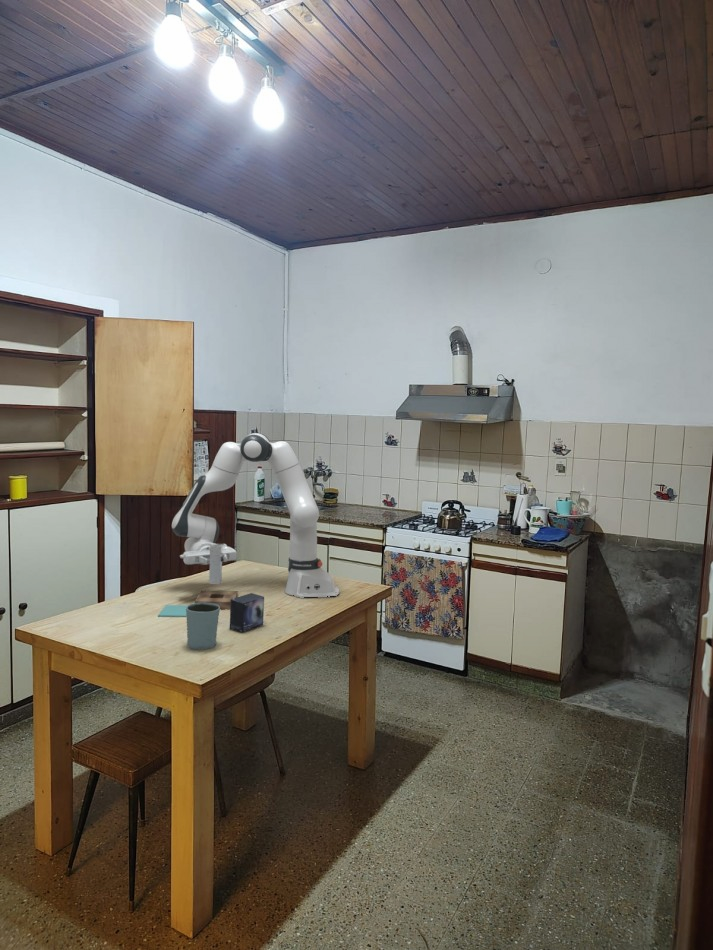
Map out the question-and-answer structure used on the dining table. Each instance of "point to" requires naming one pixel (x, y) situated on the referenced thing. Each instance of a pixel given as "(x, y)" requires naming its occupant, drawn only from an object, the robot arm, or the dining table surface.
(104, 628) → the dining table surface
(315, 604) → the dining table surface
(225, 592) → the socket block
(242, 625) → the small box
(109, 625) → the dining table surface
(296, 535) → the robot arm
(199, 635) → the grey-green cup
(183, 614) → the mat
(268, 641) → the dining table surface
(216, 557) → the metal bar
